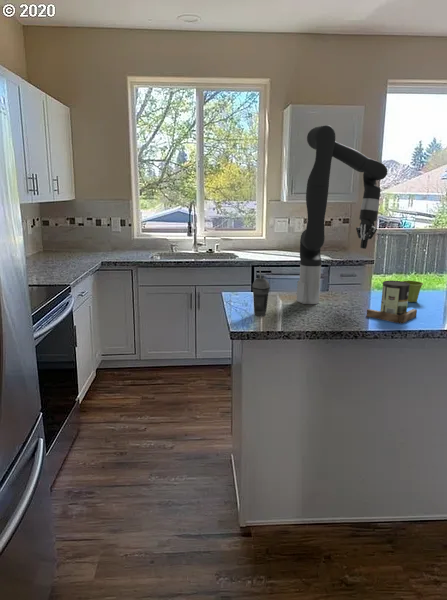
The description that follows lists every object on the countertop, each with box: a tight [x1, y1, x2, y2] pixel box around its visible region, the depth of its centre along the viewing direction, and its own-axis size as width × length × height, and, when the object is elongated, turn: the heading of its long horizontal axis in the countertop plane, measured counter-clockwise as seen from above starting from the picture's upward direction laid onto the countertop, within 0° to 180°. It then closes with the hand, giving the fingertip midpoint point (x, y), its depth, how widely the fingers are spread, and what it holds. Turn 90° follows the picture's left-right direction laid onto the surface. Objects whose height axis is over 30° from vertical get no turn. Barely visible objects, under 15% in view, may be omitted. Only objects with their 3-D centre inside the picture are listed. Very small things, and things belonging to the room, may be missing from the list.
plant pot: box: [402, 280, 424, 303], centre depth 210 cm, size 9×9×9 cm
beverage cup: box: [251, 266, 270, 317], centre depth 184 cm, size 7×7×20 cm
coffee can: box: [379, 280, 410, 315], centre depth 184 cm, size 10×10×14 cm
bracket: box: [366, 308, 418, 325], centre depth 181 cm, size 11×21×3 cm, turn 92°
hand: (363, 248), depth 205 cm, fingers closed
